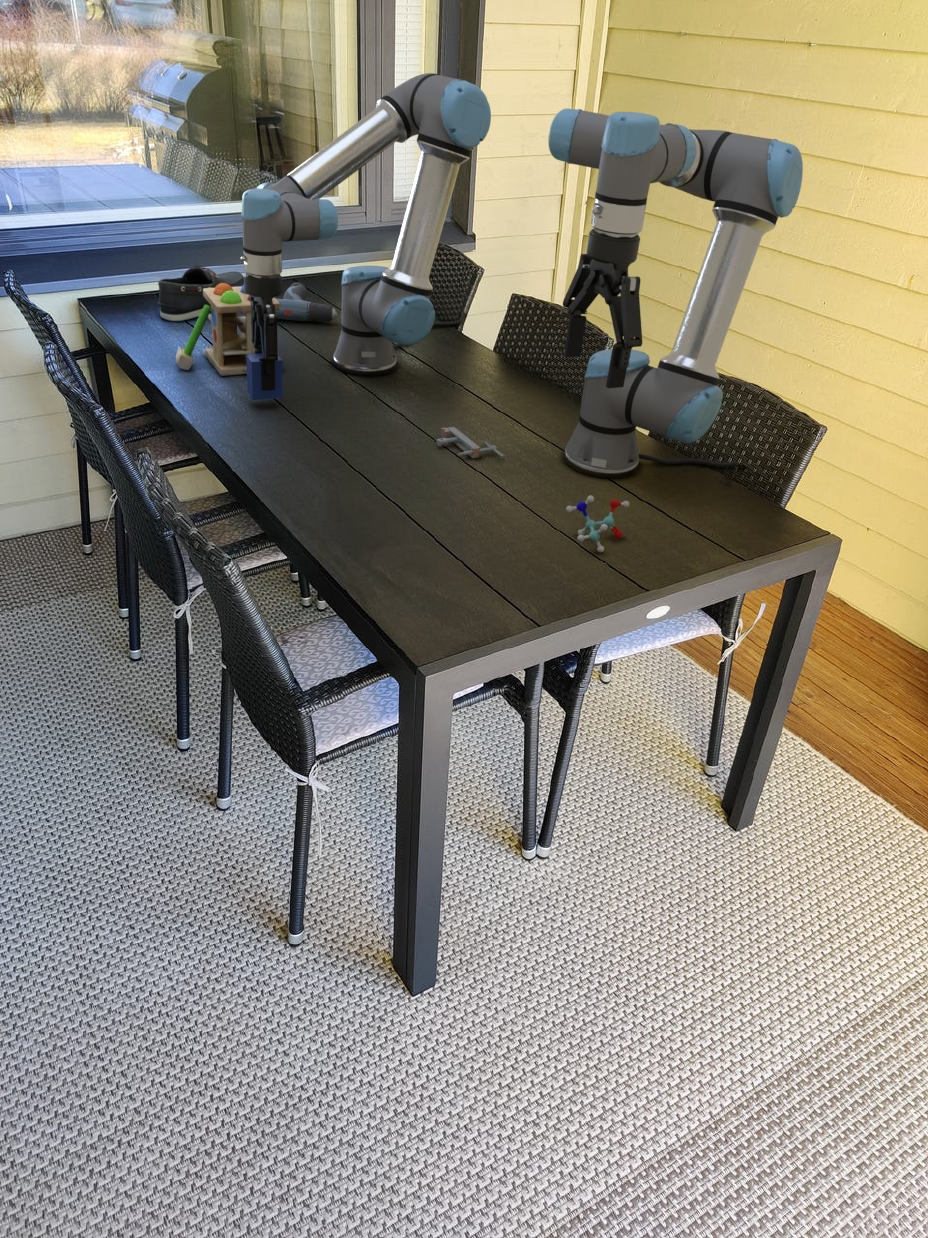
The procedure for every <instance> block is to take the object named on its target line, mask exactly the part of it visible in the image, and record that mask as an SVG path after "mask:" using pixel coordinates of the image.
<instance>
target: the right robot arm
mask: <svg viewBox="0 0 928 1238" xmlns="http://www.w3.org/2000/svg"><path fill="white" fill-rule="evenodd" d="M547 139H548V140H547V141H548V149H549V153H550V155H551V156H552V157H553V158H554V159H555V160H558V161H559V162H563V163H567V164H569V165H575V166H576V165H577V166H579V167H580V166H581V167H586V168H590V169H597V170H598V172H597V173H598V174H597V180H596V181H597V182H596V190H595V194H594V197H595V198H594V202H593V207H592V209H591V212H592V215H591V220H590V224H591V225H590V226H591V227H592V228H591V230H590V231H589V233H588V240H587V246H586V253H581V254H580V256H579V261H578V266H577V268H576V271H575V273H574V276H573V278H572V279H571V282H570V285H569V287H568V288H567V292H566V293H565V296H564V298H563V301H562V307H563V308H566V309H567V315H568V324H567V329H566V331H567V332H566V339H565V346H564V353H563V357H565V358H579V357H582V356H581V355H582V349H583V343H584V337H585V329H586V323H587V316H586V315H588V311H587V310H588V309H589V308H590V306H591V305H592V304H593V302H594V301H595V299H596V298H597V297H598V295H600V297H601V298H603V299H604V302H605V304H606V305H608V307H609V313H610V317H611V322H612V327H613V332H614V337H615V343H614V344H613V345H612V347H611V348H610V349H604V350H600V351H597V352H595V353H593V354H592V355H591V356H590V357H589V359H588V363H587V366H586V371H585V374H584V382H583V390H582V391H583V392H582V396H581V402H580V408H579V409H580V410H579V417H578V421H577V424H576V427H575V429H574V430H573V433H572V434H571V436H570V438H569V440H568V441H567V443H566V446H565V448H564V454H563V460H564V462H565V463H566V464H567V465H568V466H569V467H570V468H571V469H573V470H574V471H577V472H579V473H581V474H585V475H588V476H592V477H596V478H605V479H607V478H608V479H616V478H617V479H619V478H624V477H629V476H630V475H632V474H634V473H635V472H636V471H637V469H638V468H639V467H638V466H639V461H640V460H644V461H649V462H654V463H657V464H660V465H669V466H670V465H682V464H683V465H684V464H697V465H702V466H708V467H714V468H725V469H726V468H732V467H737V466H738V465H736V464H737V462H736V461H737V460H734V461H729V462H719V461H711V460H705V459H699V458H698V459H697V458H678V459H665V458H659V457H656V456H652V455H649V454H648V455H647V454H643V453H639V448H638V440H637V434H636V430H637V428H639V429H642V430H644V431H648V432H650V433H654V434H656V435H659V436H662V437H664V438H666V439H668V440H672V441H677V442H681V443H683V444H692V443H695V442H697V441H698V440H700V439H701V438H702V437H703V436H705V434H706V433H707V432H708V431H709V429H710V428H711V427H712V425H713V424H714V422H715V420H716V418H717V416H718V415H719V412H720V409H721V406H722V403H723V402H722V400H723V399H724V393H723V390H722V388H720V387H719V385H718V382H719V380H720V375H719V373H718V371H717V368H716V364H717V362H718V359H719V355H720V353H721V351H722V348H723V345H724V342H725V340H726V337H727V335H728V331H729V329H730V326H731V324H732V321H733V318H734V315H735V313H736V310H737V308H738V305H739V301H740V298H741V295H742V293H743V291H744V288H745V285H746V282H747V280H748V277H749V274H750V272H751V268H752V265H753V263H754V260H755V258H756V255H757V251H758V249H759V247H760V244H761V241H762V238H763V236H764V235H765V234H767V233H768V232H771V231H772V230H774V229H775V227H776V225H777V221H778V219H779V218H781V219H782V218H786V217H789V216H790V215H791V214H792V212H793V209H794V208H795V207H796V205H797V202H798V200H799V196H800V192H801V188H802V182H803V175H804V174H803V171H804V169H803V167H804V166H803V165H804V163H803V156H802V153H801V151H800V149H799V148H798V147H797V146H796V145H795V144H792V143H790V142H785V141H782V140H778V139H777V138H768V137H761V136H755V135H750V134H743V133H737V132H731V131H727V130H721V129H693V128H691V129H690V128H688V127H686V126H685V125H682V124H678V123H677V124H676V123H675V124H674V123H671V122H667V123H665V124H661V123H660V119H659V118H658V117H657V116H656V115H652V114H649V113H643V112H637V111H636V112H635V111H614V112H612V113H611V114H610V115H609V114H603V113H599V112H593V111H588V110H583V109H581V108H577V109H575V108H568V107H567V108H563V109H561V110H560V111H558V112H557V113H556V114H555V116H554V118H553V119H552V121H551V124H550V128H549V133H548V138H547ZM655 183H659V184H661V185H663V186H665V187H669V188H674V189H676V190H679V191H681V192H684V193H686V194H688V195H691V196H694V197H697V198H699V199H702V200H706V201H710V202H714V203H713V206H712V210H711V211H712V214H713V216H714V218H715V220H716V223H715V226H714V229H713V232H712V235H711V237H710V240H709V243H708V246H707V249H706V251H705V255H704V258H703V259H702V263H701V266H700V269H699V272H698V275H697V277H696V281H695V283H694V286H693V289H692V292H691V295H690V298H689V300H688V303H687V306H686V309H685V312H684V315H683V317H682V321H681V324H680V325H679V329H678V331H677V335H676V337H675V340H674V344H673V346H672V349H671V351H670V352H669V353H668V354H666V355H664V356H663V357H661V358H660V359H659V362H658V364H657V367H654V366H652V365H649V364H650V363H651V360H650V356H649V354H647V353H646V352H644V351H641V350H637V349H633V348H637V347H638V348H639V347H642V346H643V332H642V331H643V330H642V316H641V315H642V313H641V302H640V289H641V277H640V276H630V275H629V267H630V265H631V264H633V263H635V262H636V261H637V259H638V253H639V249H640V248H639V247H640V243H641V237H640V235H639V234H640V233H641V232H642V231H643V228H644V222H645V216H646V209H647V205H648V204H647V203H648V195H649V192H650V185H651V184H655ZM739 466H741V467H743V468H744V469H745V470H751V467H750V466H749V467H750V468H749V467H747V466H745V465H739Z"/></svg>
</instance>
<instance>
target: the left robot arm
mask: <svg viewBox="0 0 928 1238" xmlns="http://www.w3.org/2000/svg"><path fill="white" fill-rule="evenodd" d="M491 121H492V112H491V106H490V102H489V101H488V97H487V95H486V94H485V92H484V91H483V90H482V89H481V88H480V87H479V86H477V85H476V84H474V83H471V82H469V81H467V80H464V79H460V78H456V77H455V78H454V77H450V76H445V75H441V74H438V73H433V72H427V73H422V74H421V73H420V74H418V75H415V76H413V77H411V78H409V79H407V80H406V81H404V82H402V83H400V84H399V85H397V86H396V87H394V88H393V89H391V90H390V91H389V92H387V93H386V94H385V95H383V96H382V97H380V98H379V99H378V100H377V101H376V103H375V109H373V110H372V111H370V112H369V113H368V114H367V115H365V116H363V117H362V118H361V119H360V120H358V121H357V122H356V123H355V124H353V125H352V126H350V127H349V128H348V129H347V130H345V131H343V133H341V134H340V135H338V136H337V137H336V138H334V139H332V141H330V142H329V143H328V144H326V145H325V146H323V148H321V149H320V150H318V151H317V152H316V153H315V154H313V155H312V156H311V157H309V158H308V159H306V160H305V161H304V162H302V163H301V164H300V165H298V166H297V167H296V168H294V169H293V170H292V171H290V172H289V173H288V174H287V175H285V176H284V177H282V178H281V179H279V180H278V181H277V182H273V181H271V182H269V181H267V182H263V183H261V184H259V185H257V187H256V188H250V189H247V190H246V191H244V192H243V194H242V197H241V198H242V199H241V215H240V216H241V224H242V225H241V226H242V227H241V228H242V248H243V250H242V252H243V256H241V257H240V261H241V262H243V270H244V272H245V273H244V274H243V276H244V290H245V292H246V293H247V294H248V295H251V296H250V303H251V328H252V343H254V349H256V350H255V354H258V353H262V358H259V361H261V378H262V390H275V361H277V360H278V355H279V352H278V349H279V347H278V342H277V341H278V320H279V319H278V315H277V313H276V314H275V312H276V310H275V304H273V301H272V299H273V298H276V297H280V296H281V295H282V293H283V277H282V275H281V273H283V249H282V248H283V243H284V242H287V243H289V242H304V241H305V242H306V241H320V240H321V241H322V240H327V239H331V238H333V237H334V236H335V235H336V233H337V231H338V227H339V217H338V216H339V215H338V211H337V208H336V206H335V205H334V203H333V202H332V201H331V200H329V199H322V197H324V196H325V195H327V194H328V193H329V192H331V191H332V190H333V189H335V188H336V187H337V186H339V185H340V184H341V183H343V182H344V181H345V180H347V179H348V178H350V177H351V176H352V175H354V174H355V173H356V172H358V171H359V170H360V169H362V168H363V167H364V166H366V165H367V164H368V163H370V162H371V161H373V160H374V159H375V158H376V157H377V156H379V155H380V154H381V153H383V152H384V151H386V150H387V149H388V148H389V147H391V146H393V145H394V144H395V143H400V144H403V143H405V142H406V141H408V140H409V139H410V138H412V137H414V136H417V137H416V143H417V146H418V148H419V150H420V155H419V159H418V163H417V166H416V171H415V174H414V178H413V183H412V184H411V185H412V186H411V190H410V193H409V197H408V201H407V205H406V208H405V212H404V216H403V220H402V224H401V226H400V227H401V228H400V232H399V235H398V239H397V243H396V246H395V251H394V255H393V258H392V262H391V266H390V267H388V266H382V265H355V266H351V267H347V268H346V269H344V270H343V272H342V275H341V283H340V286H341V316H340V317H341V319H340V321H341V324H340V325H341V326H340V329H341V330H340V336H339V338H338V341H337V344H336V348H335V350H334V352H333V354H332V355H333V361H332V362H333V363H332V364H333V366H334V367H335V368H337V369H338V370H339V371H342V372H344V373H347V374H352V375H356V376H380V375H381V376H382V375H386V374H389V373H391V372H393V371H395V369H396V368H397V361H398V359H397V354H396V352H395V349H399V348H401V347H404V346H412V345H415V344H418V343H419V342H420V341H421V340H423V339H425V338H426V337H427V336H428V335H429V333H430V332H431V330H432V329H433V327H450V326H452V327H453V326H458V325H460V324H462V323H463V322H464V320H465V317H466V316H467V314H466V311H464V310H461V315H460V319H458V320H455V321H436V322H435V319H436V311H435V309H434V305H433V303H432V302H431V297H432V293H433V289H434V287H433V285H432V284H431V282H430V275H431V272H432V271H431V270H432V267H433V264H434V260H435V256H436V253H437V249H438V246H439V242H440V239H441V235H442V231H443V229H444V224H445V220H446V217H447V213H448V210H449V206H450V203H451V199H452V195H453V192H454V189H455V185H456V181H457V177H458V174H459V170H460V167H461V165H462V164H464V163H465V162H467V161H469V160H470V158H471V154H472V151H473V148H475V147H477V146H479V145H480V143H482V142H484V140H485V139H486V137H487V135H488V133H489V131H490V127H491ZM394 343H395V344H394Z"/></svg>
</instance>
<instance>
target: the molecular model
mask: <svg viewBox="0 0 928 1238" xmlns="http://www.w3.org/2000/svg"><path fill="white" fill-rule="evenodd" d="M594 501H595V497H594V496H593V495H588V496H587V498H586V500H585V501H579V502H578V503H577V505H575V506H572V505H567V506H566V508H565V510H566V512H567V513H572V512H573V511H578V512H581V513H582V515H583V517H584V519H585V520H586V522H585V525H584V526H585V527H584V528H583V529H582V528H581V529H579V530H578V531H577V535H578V536H577V539H576V540H577V541H578V542H580V543H582V542H584V541H585V540H589V539H590V541H593V542H595V544H596V547H597V548H596V549H597V552H598V553H599V554H600V553H604V551H605V547H604V546H603V545H602V544H601V542H600V540H599V539H600V534H601V533H602V532H605V531H607V530H608V528H609V529H610V530H611V532H612V533H613V537H614V538H615V539H617V540H618V539H621V538H622V537H623V532H622V531H621V530H620V529H619V528H618V527H617V526H616V525H615V519H614V518H613V515H614V513H615V510H616V509H617V508H619V507H623V508H624V509H625V508H627V509H628V508H629V507H630V501H628V500H624V501H623V502H621V501H619V500H617V499H615V498H614V499H612V500H611V501H610V502H609V506H610V510H609V514H608V516H605V517H604V519H603V520H598V521H595V520H594V519H591V518H590V516H589V514H588V512H587V511H586V510H587V509H588V506H587V505H588V504H589V503H593V502H594ZM596 526H600V527H599V529H597V530H595V528H596ZM588 530H589V531H590V532H589V534H587V535H585V533H586V532H587V531H588Z"/></svg>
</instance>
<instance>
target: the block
mask: <svg viewBox="0 0 928 1238" xmlns="http://www.w3.org/2000/svg"><path fill="white" fill-rule="evenodd" d="M259 358H262V353H258V354H246V362H247V374H246V387H247V388H246V391H247V392H246V393H247V394H248V395H249V397H250V399H251V400H252V401H263V400H264V401H265V400H277V399H284V375H283V372H284V370H283V368H284V367H283V365H284V362H283V359H282V357H281V356H280V355H279V354H278V360H277V361H275V390H262V378H261V361H259Z"/></svg>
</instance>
